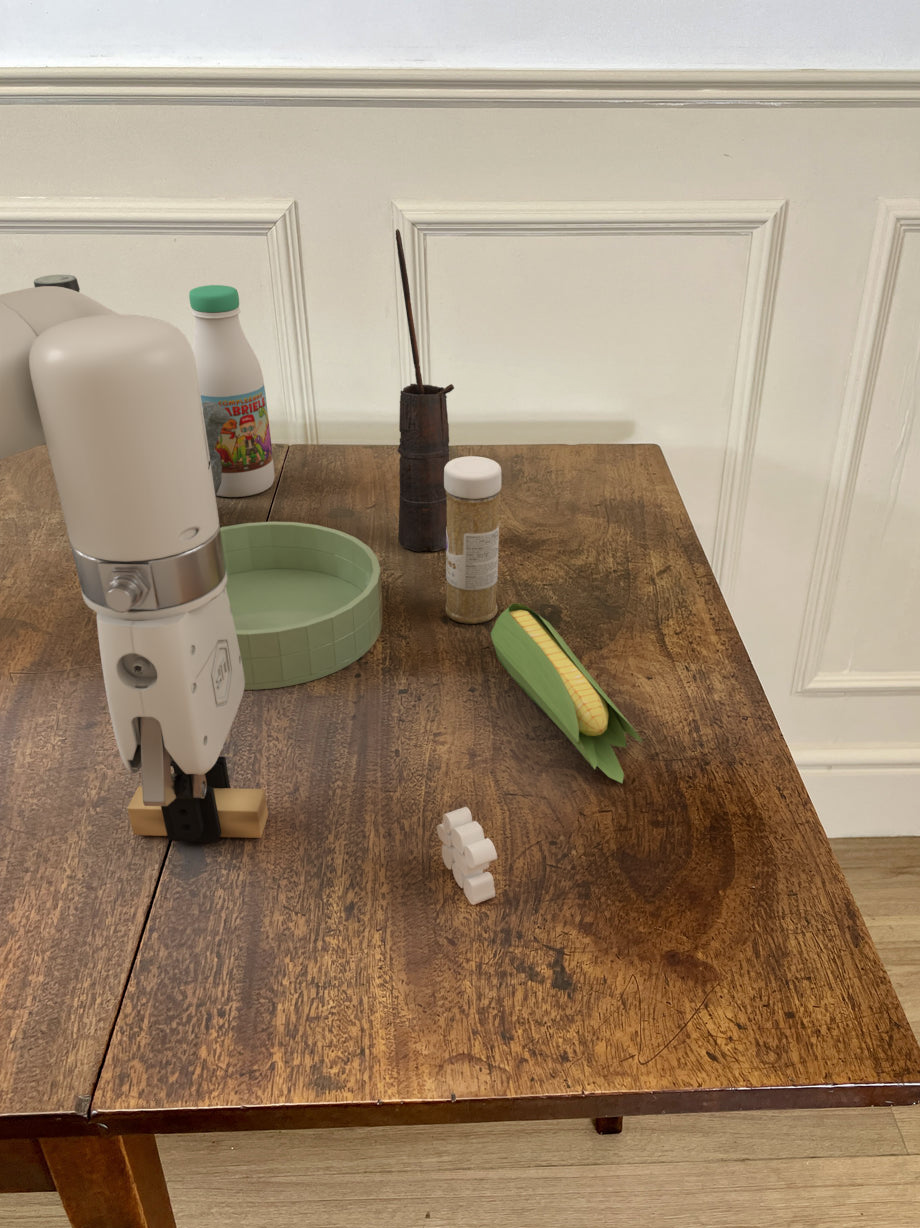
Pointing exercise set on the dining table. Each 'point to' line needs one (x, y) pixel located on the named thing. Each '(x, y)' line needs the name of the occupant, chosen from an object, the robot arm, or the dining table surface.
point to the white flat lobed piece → (467, 854)
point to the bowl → (300, 600)
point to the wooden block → (235, 808)
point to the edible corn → (561, 686)
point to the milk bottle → (232, 391)
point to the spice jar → (472, 538)
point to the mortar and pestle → (214, 436)
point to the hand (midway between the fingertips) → (201, 820)
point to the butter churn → (421, 450)
